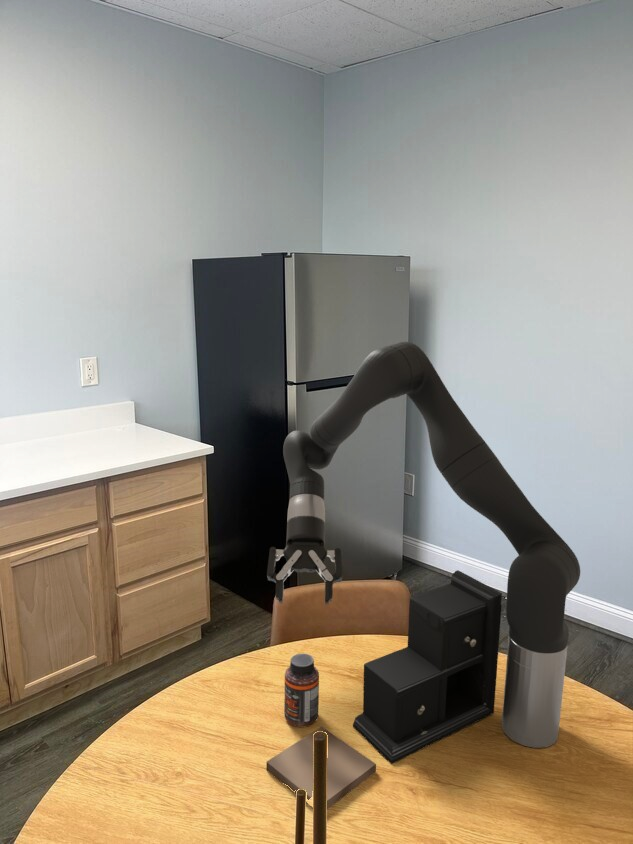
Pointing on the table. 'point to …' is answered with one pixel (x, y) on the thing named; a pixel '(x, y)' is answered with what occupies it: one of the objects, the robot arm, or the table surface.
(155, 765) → the table surface
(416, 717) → the black drawer cabinet
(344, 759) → the brown flat square block
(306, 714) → the supplement bottle
